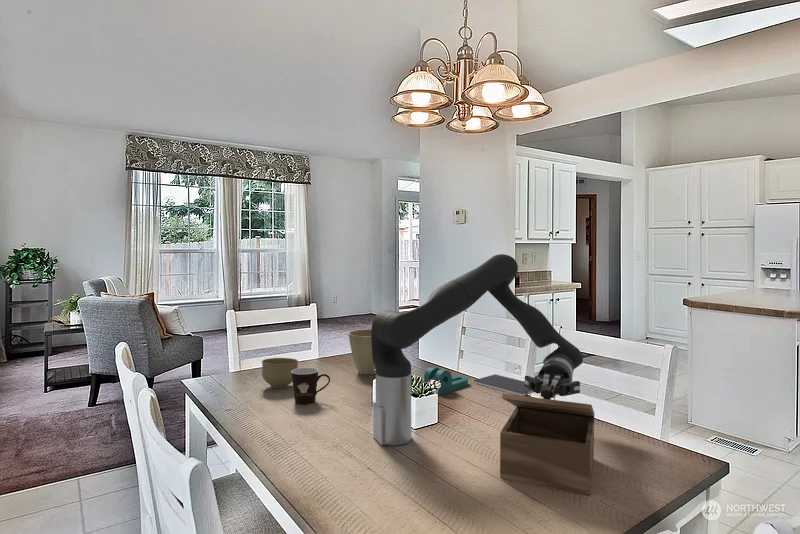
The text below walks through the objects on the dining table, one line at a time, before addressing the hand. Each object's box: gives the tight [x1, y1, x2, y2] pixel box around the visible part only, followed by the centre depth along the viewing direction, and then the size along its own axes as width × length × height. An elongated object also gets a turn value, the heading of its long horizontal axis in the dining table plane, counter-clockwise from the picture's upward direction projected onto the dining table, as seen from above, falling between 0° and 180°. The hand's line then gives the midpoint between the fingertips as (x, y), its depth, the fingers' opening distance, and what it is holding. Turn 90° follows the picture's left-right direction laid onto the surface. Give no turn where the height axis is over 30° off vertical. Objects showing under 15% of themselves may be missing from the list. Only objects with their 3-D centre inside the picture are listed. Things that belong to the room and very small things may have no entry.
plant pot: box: [348, 328, 376, 375], centre depth 190 cm, size 15×15×16 cm
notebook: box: [474, 373, 535, 396], centre depth 172 cm, size 13×2×21 cm
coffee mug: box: [291, 367, 331, 406], centre depth 154 cm, size 12×9×10 cm
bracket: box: [423, 366, 469, 396], centre depth 170 cm, size 18×7×8 cm, turn 134°
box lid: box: [501, 393, 595, 418], centre depth 108 cm, size 18×18×1 cm
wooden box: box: [499, 406, 595, 496], centre depth 108 cm, size 18×18×10 cm
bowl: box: [261, 357, 299, 390], centre depth 171 cm, size 13×13×10 cm
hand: (546, 394), depth 103 cm, fingers closed
